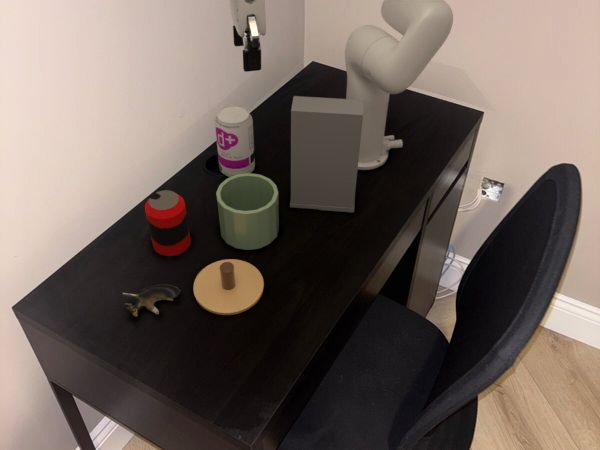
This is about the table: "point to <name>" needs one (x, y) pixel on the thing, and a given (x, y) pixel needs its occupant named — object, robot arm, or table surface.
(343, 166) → the tall grey box
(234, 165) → the supplement can
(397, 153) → the table surface
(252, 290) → the lid
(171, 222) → the soda can
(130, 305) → the eagle figurine
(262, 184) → the canister
